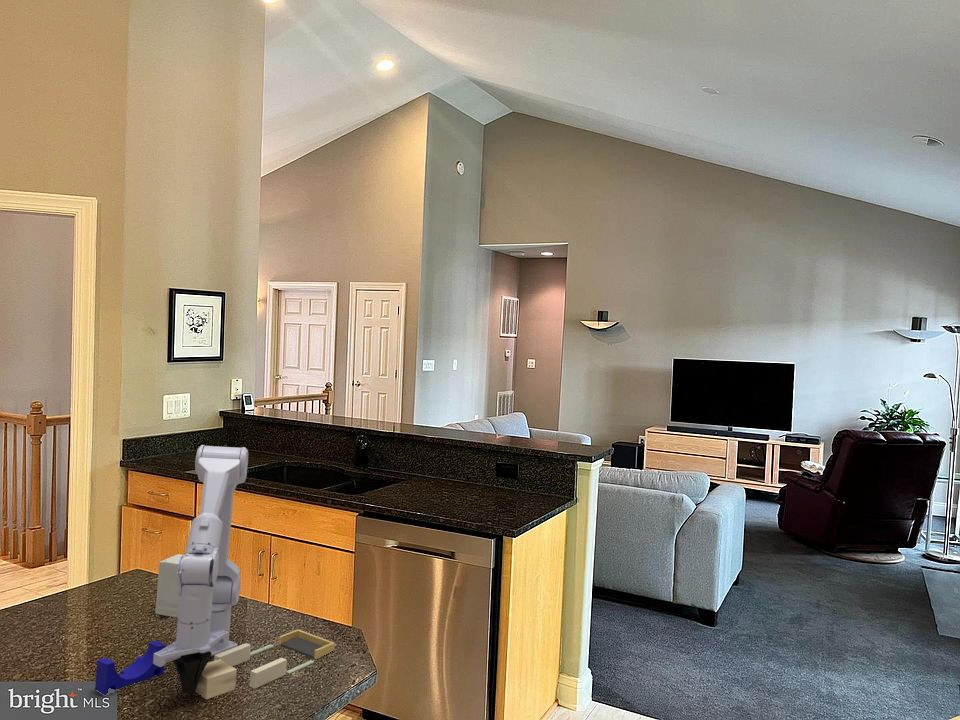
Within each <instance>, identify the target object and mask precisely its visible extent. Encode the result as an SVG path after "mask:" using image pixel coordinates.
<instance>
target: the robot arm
mask: <svg viewBox="0 0 960 720" xmlns="http://www.w3.org/2000/svg"><path fill="white" fill-rule="evenodd" d="M248 464H249V450H248V449H247V448H246V447H245V446H242V447H237V446H236V447H231V446H217V445H215V446H214V445H205V444H201V445H200V446H198V448H197V451H196V455H195V460H194V469H195V472H196V474H197V477H198V480H199V482H202V483H203V486H202V493H201V502H200V511H199V515H197V516H196V517H194V519H192V521H191V524H190V527H189V528H190V529H189V533H188V539H187V543H186V546H185V547H186V548H185V551H184V555H185V556H181V558H180V560H179V564H178V570H177V582H178V595H179V596H180V597H179V609H178V618H177V624H176V639H175V641H173V642H172V643H170V644H168V645H167V646H165V648H164V649H162V650H160V651H158V652H156V653H154V658H153V664H155V665H156V666H159V667H162V666H164V667H165V665H166V664H167V663H170V662H173V665H174V666H175V668H176V670H177V673H178V677H179V680H180V685H181V690H182V693H184V694H186V695H192V694H195V693H196V692H195V691H196V688H197V685H198V682H199V679H200V677H201V674H202V672H203V670H204V668H205V666H206V665H207V663H209V662H210V660H211V659H212V657H213V656H214V655H216V654H219V653H222V652H224V651H227V650H229V649H232V648H235V647H237V646H238V643H236V642H234V641H231V640H230V630H231V617H232V606H235V605H237V603H238V602H239V598H240V593H241V569H240V567H239V566H238V565H237V564H236V563H234V562H233V561H232V560H231V559H229V555H230V554H229V553H230V542H231V541H230V539H231V529H232V518H233V507H234V506H233V505H234V494H235V491H236V488H237V486H238V485H240V484H243V483H246V479H247V475H248V474H247V473H248Z"/></svg>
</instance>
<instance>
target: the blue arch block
mask: <svg viewBox="0 0 960 720" xmlns="http://www.w3.org/2000/svg"><path fill="white" fill-rule="evenodd" d="M165 647H166V643H163V642H161V641H158V640H153V641H150V642H149V643H148V647H147V650H146V652H145V654H144V655H141V656H138V657H137V658H136V659H135V660H134V662H132V664H130V665H129V666H128V667H126V668H125V669H122V670H121V671H120V674H118V672H117V670H116V662H115V661H114V660H111V659H109V658H107V657H103V658H99V659H97V662H96V663H97V664H96V672H95V673H96V675H95V688H94V689H96V690H98V691H99V692H101V693H102V694H104V695H106V694H107V693H108V689H109V688H111V689H114V690H116V689H120V688H122V687H125V686H128V685H132V684H134V683H138V682H140V681H143V682H145V681H144V680H146V681H148V680H147V679H149V680H151V679H153V678H152V677H154V678H156V677H158V675H159V676H161V674H162V675H163V674H164V668H165V665H164V666H162V667H159V666H156V665H155V664H153V658H154V653H156V652H158V651H160V650H162V649H164V648H165ZM155 675H157V676H156V677H155ZM150 678H151V679H150ZM138 684H139V683H138Z"/></svg>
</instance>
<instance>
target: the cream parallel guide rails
mask: <svg viewBox="0 0 960 720" xmlns="http://www.w3.org/2000/svg"><path fill="white" fill-rule="evenodd" d="M251 648H252V645H251V644H249V643H247V642H244V643H242V644H240V645H237V647H234V648H231V649H229V650H226V651H224V652H221V653H218V654H216V655H213V656H214V657H213V661H215V660H219V659H220V660H222V661H224V662H225V663H227V664H228V665H230V666H232V667H233V668H234V667H235V666H237V665H240V664H242V663H244V662H247V661H249V660H251V656H250V652H252V651H251V650H252V649H251ZM287 664H288V660H287V659H286V658H284V657H280V658H278V659H274V660H273V661H271V662H268V663H265V664H263V665H261V666H258V667H256V668H253V669H252V670H250V675H249V687H250V688H251V689H252V688H253V689H258V688H259V687H261V686H264V685H266V684H268V683H271V682H272V681H275V680H276V679H280V678H282V677H284V676H286V674H287V673H286V671H287Z"/></svg>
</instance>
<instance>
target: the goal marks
mask: <svg viewBox="0 0 960 720" xmlns="http://www.w3.org/2000/svg"><path fill="white" fill-rule="evenodd" d="M274 647H275V645H273V644H268V645H265V646H263V647H260V648H258V649H255V650H252V651H251V652H250V657H252V656H255V655H257V654H260V653H262V652H265V651H267V650H270V649H272V648H274ZM313 664H315V661H313V660H311V659H310V660H309V661H306V662H304V663H302V664H299V665H297V666H295V667H292V668H291V669H289V670H286V674H288V675H291V674H294V673H296V672H298V671H300V670H302V669H304V668H306V667H308V666H311V665H313Z"/></svg>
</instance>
